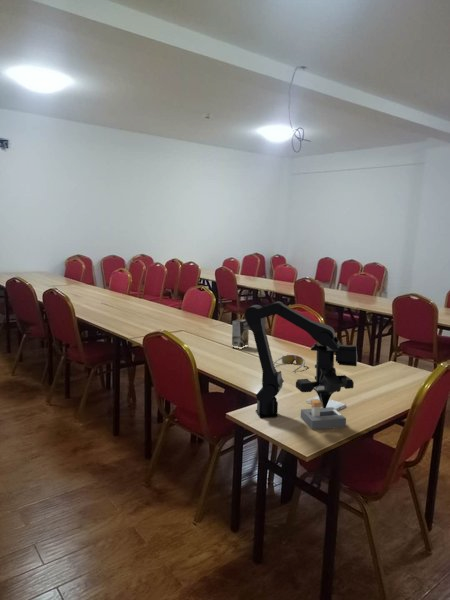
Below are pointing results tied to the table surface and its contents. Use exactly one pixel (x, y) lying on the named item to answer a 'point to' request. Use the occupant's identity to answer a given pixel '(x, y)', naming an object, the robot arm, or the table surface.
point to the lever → (315, 407)
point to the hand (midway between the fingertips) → (324, 408)
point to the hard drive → (331, 403)
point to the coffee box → (240, 333)
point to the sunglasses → (292, 360)
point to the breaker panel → (323, 418)
